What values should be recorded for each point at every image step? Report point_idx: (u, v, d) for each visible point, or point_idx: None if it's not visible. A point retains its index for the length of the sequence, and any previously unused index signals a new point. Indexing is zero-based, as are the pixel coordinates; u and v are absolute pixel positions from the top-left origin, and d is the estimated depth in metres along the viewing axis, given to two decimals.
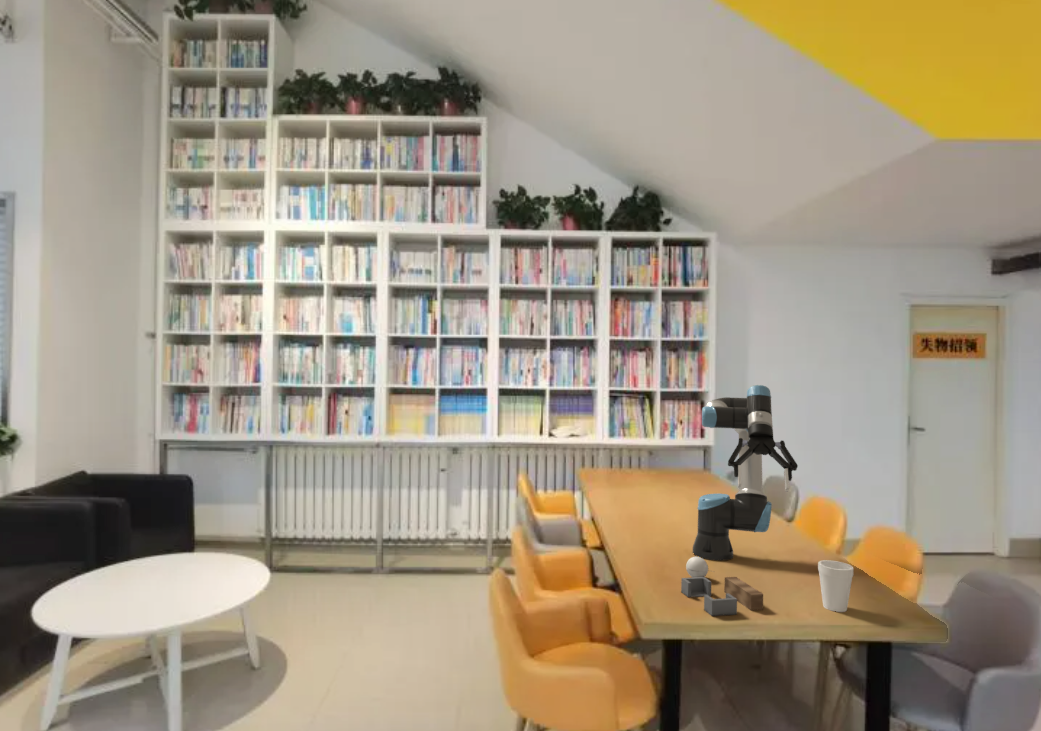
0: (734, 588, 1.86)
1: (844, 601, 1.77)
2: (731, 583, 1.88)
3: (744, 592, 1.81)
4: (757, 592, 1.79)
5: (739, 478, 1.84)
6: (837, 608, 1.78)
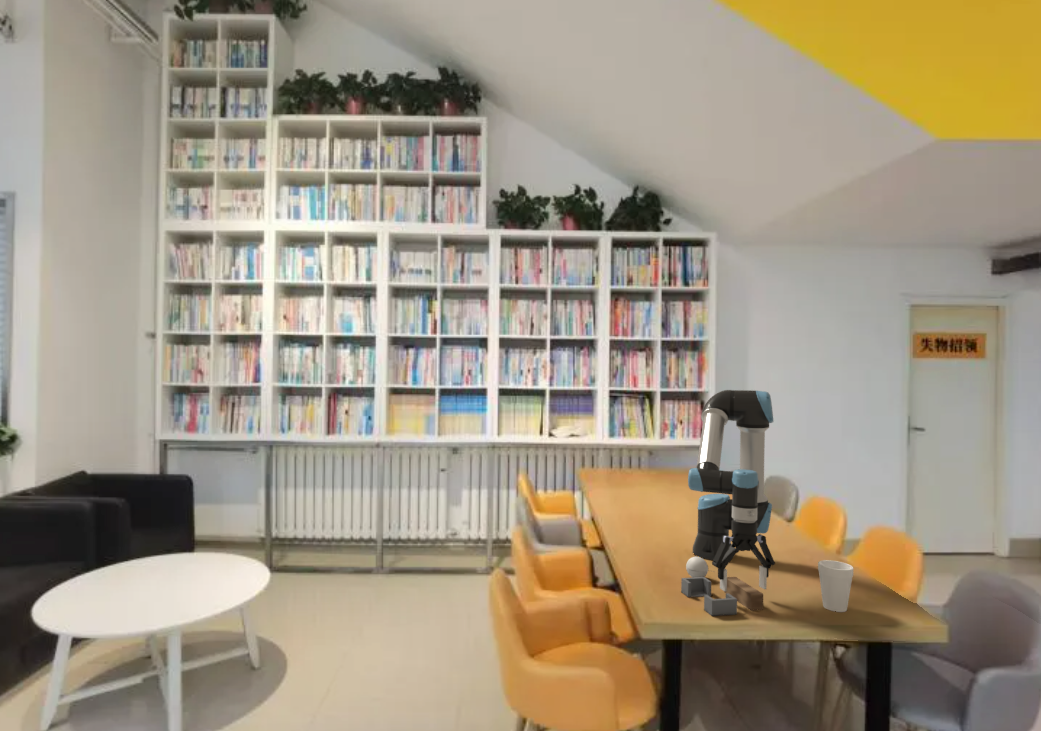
0: (734, 588, 1.86)
1: (844, 601, 1.77)
2: (731, 583, 1.88)
3: (744, 592, 1.81)
4: (757, 592, 1.79)
5: (725, 584, 1.82)
6: (837, 608, 1.78)
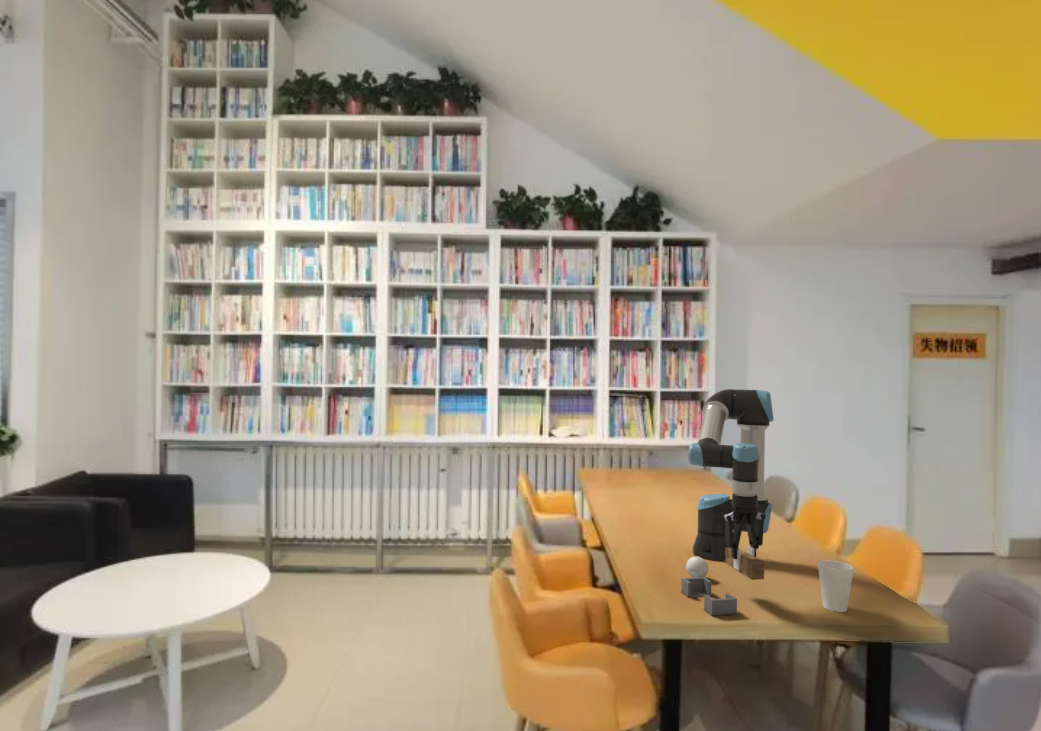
0: None
1: (844, 601, 1.77)
2: None
3: (745, 561, 1.81)
4: (758, 561, 1.80)
5: (738, 564, 1.84)
6: (837, 608, 1.78)
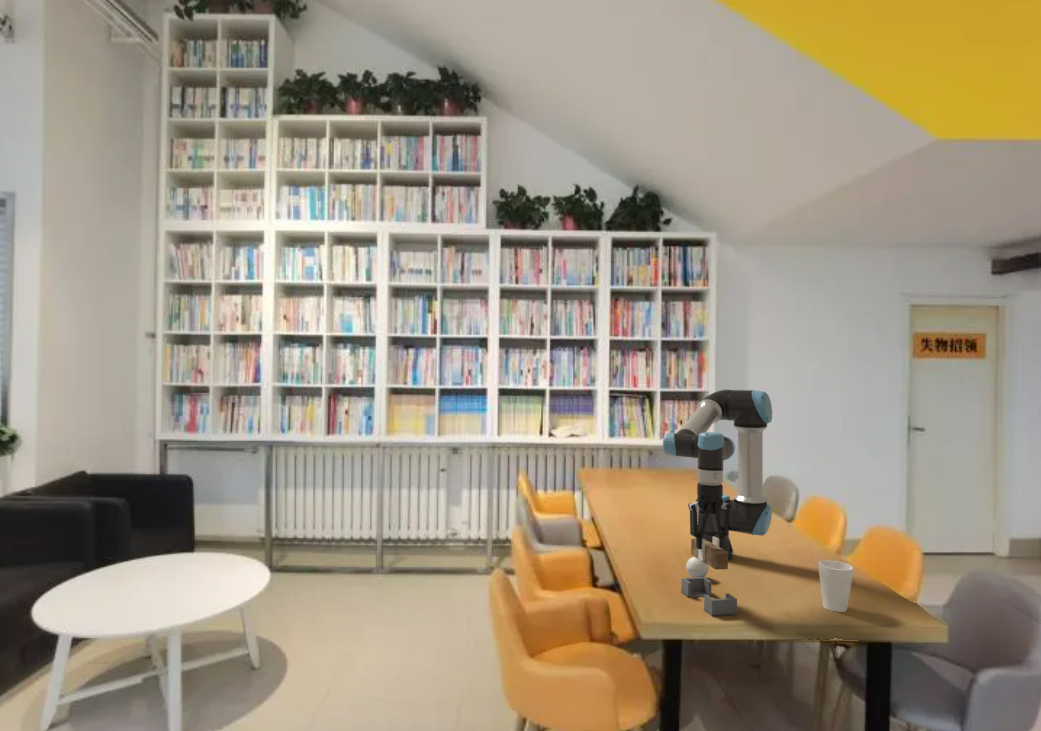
0: None
1: (844, 601, 1.77)
2: None
3: (709, 551, 1.78)
4: (722, 550, 1.77)
5: (703, 554, 1.81)
6: (837, 608, 1.78)
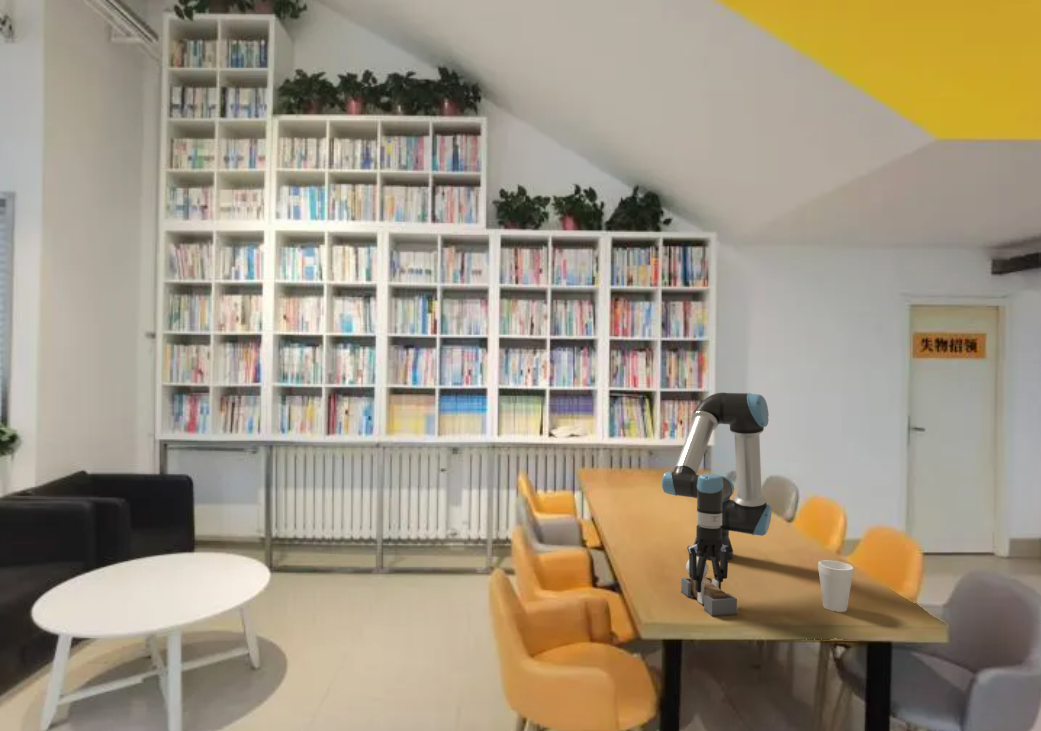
0: None
1: (844, 601, 1.77)
2: None
3: (709, 592, 1.78)
4: (721, 592, 1.76)
5: (702, 597, 1.81)
6: (837, 608, 1.78)
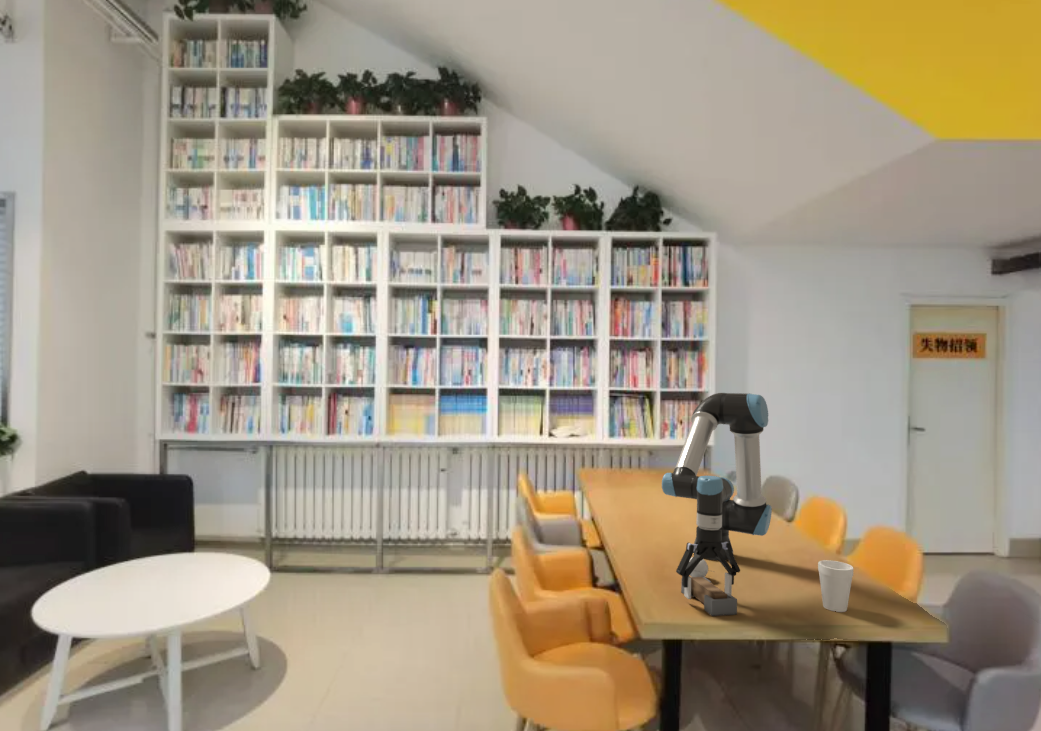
0: (699, 588, 1.84)
1: (844, 601, 1.77)
2: (696, 583, 1.85)
3: (709, 592, 1.78)
4: (721, 592, 1.76)
5: (689, 592, 1.80)
6: (837, 608, 1.78)
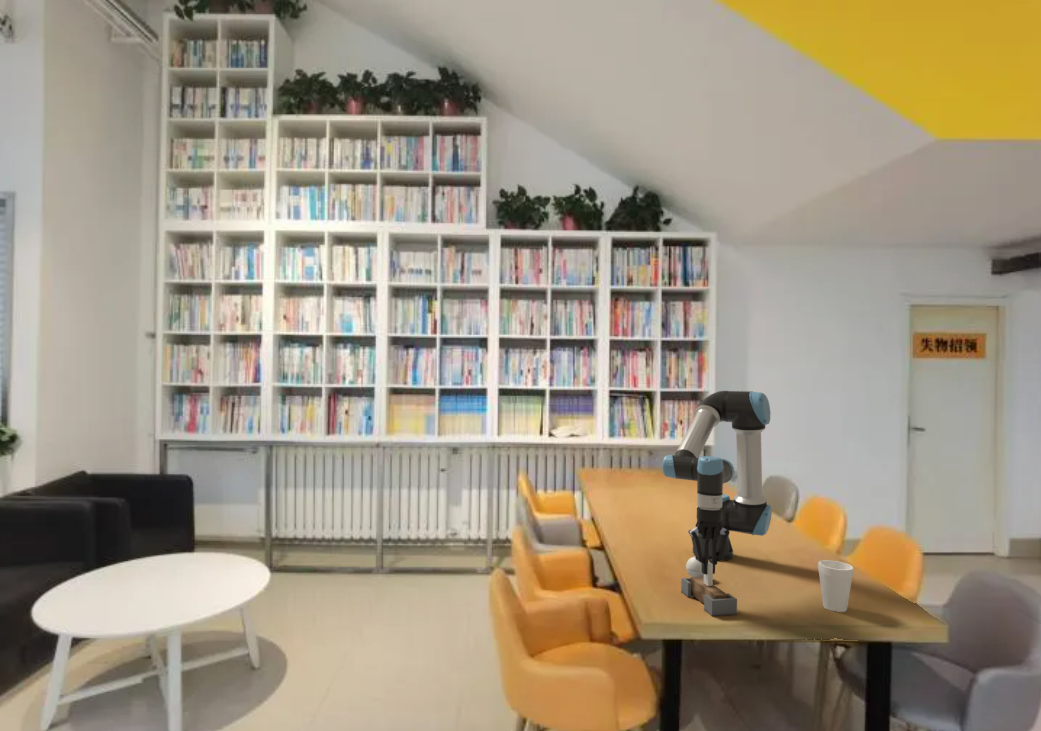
0: (699, 588, 1.84)
1: (844, 601, 1.77)
2: (696, 583, 1.85)
3: (709, 592, 1.78)
4: (721, 592, 1.76)
5: (708, 579, 1.81)
6: (837, 608, 1.78)
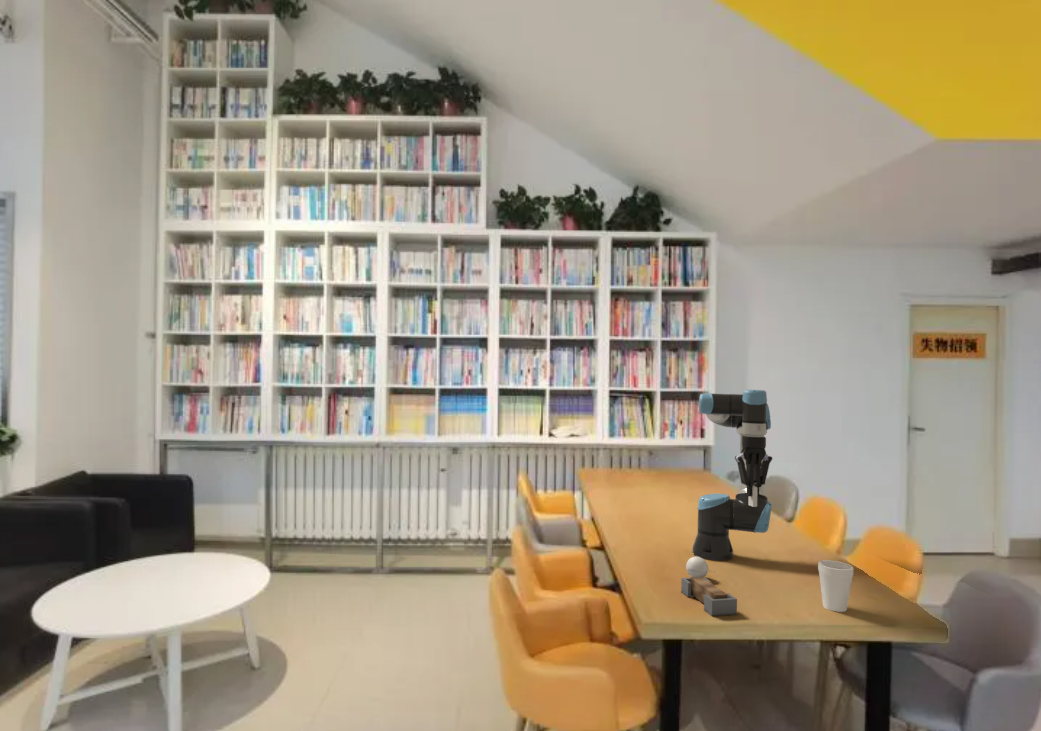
0: (699, 588, 1.84)
1: (844, 601, 1.77)
2: (696, 583, 1.85)
3: (709, 592, 1.78)
4: (721, 592, 1.76)
5: (753, 500, 1.98)
6: (837, 608, 1.78)
